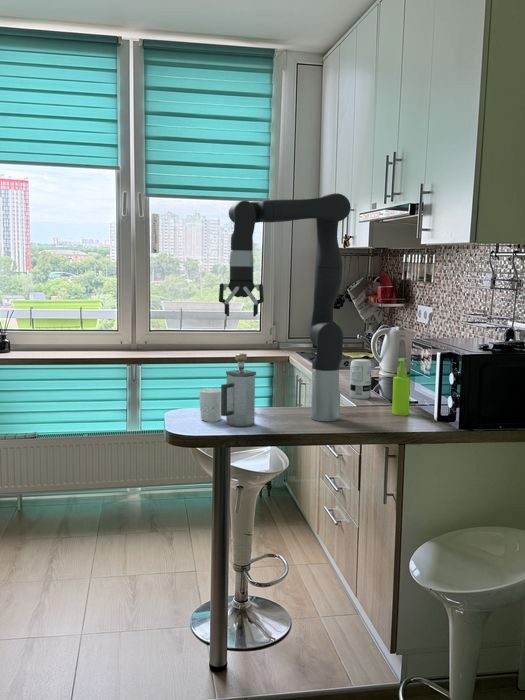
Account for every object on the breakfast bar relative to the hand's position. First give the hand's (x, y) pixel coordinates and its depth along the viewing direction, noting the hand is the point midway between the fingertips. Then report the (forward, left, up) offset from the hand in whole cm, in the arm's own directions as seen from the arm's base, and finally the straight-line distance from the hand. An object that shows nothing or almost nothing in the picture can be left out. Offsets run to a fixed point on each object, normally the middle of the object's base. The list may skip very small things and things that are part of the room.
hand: (241, 316), depth 214 cm
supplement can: (-67, -2, -36) cm, 76 cm away
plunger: (0, 0, -32) cm, 32 cm away
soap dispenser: (-53, +26, -36) cm, 69 cm away
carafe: (+1, 0, -35) cm, 36 cm away
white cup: (+3, -12, -36) cm, 38 cm away
